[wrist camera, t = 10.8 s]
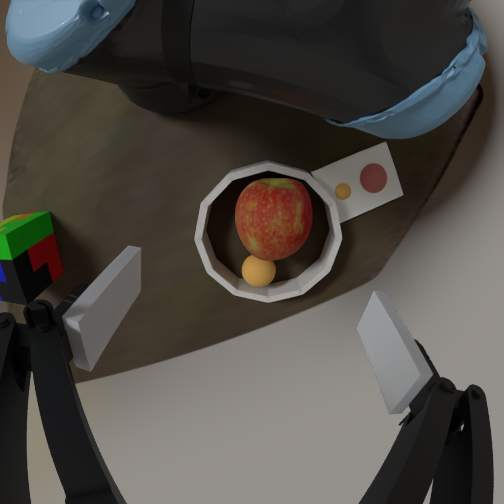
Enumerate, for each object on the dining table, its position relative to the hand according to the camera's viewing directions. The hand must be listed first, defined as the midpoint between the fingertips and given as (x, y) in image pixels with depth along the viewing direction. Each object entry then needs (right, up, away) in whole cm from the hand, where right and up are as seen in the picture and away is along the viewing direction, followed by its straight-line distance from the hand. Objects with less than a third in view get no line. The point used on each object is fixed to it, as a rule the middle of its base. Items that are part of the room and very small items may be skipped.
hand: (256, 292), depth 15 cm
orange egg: (+1, +1, +21) cm, 21 cm away
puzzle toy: (-35, +4, +21) cm, 41 cm away
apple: (+2, +7, +18) cm, 20 cm away
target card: (+12, +10, +16) cm, 23 cm away
